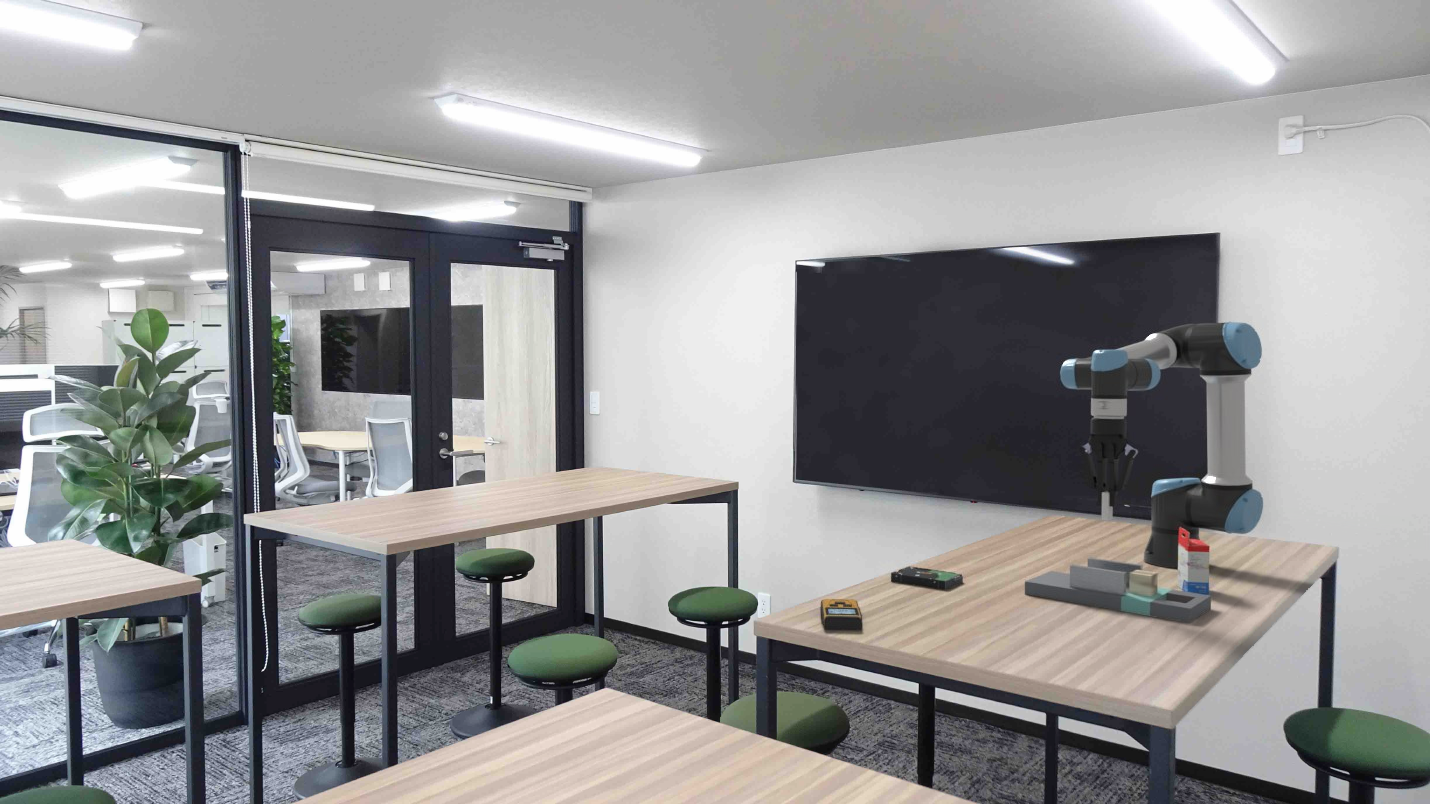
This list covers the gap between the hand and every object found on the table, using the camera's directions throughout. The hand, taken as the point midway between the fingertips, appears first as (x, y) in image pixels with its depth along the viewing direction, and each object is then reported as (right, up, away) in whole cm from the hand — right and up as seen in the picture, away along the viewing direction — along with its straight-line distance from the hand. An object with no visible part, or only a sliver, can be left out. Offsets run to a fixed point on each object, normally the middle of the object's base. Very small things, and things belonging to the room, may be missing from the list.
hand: (1106, 520), depth 212 cm
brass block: (+6, -16, -5) cm, 17 cm away
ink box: (+24, -18, +9) cm, 32 cm away
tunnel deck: (+1, -18, -1) cm, 18 cm away
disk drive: (-37, -18, +18) cm, 45 cm away
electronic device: (-63, -20, -16) cm, 68 cm away
